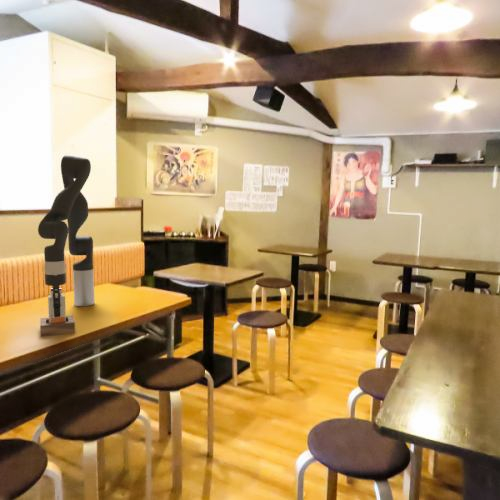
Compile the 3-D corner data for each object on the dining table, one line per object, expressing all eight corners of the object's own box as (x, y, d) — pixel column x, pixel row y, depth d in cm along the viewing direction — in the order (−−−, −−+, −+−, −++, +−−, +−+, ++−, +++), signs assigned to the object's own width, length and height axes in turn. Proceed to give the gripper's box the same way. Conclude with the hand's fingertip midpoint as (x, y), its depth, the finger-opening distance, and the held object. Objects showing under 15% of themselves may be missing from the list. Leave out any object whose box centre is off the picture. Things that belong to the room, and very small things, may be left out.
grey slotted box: (40, 328, 174) (40, 318, 174) (73, 324, 179) (72, 315, 179) (40, 336, 164) (40, 326, 164) (74, 332, 169) (74, 322, 169)
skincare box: (49, 328, 168) (48, 297, 167) (49, 325, 172) (47, 295, 170) (66, 325, 171) (65, 296, 170) (65, 323, 175) (64, 293, 173)
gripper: (44, 269, 174) (46, 311, 176) (44, 276, 161) (46, 321, 163) (64, 268, 177) (66, 309, 179) (66, 274, 164) (68, 318, 166)
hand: (57, 314), depth 171 cm, fingers closed on skincare box, 4 cm apart
